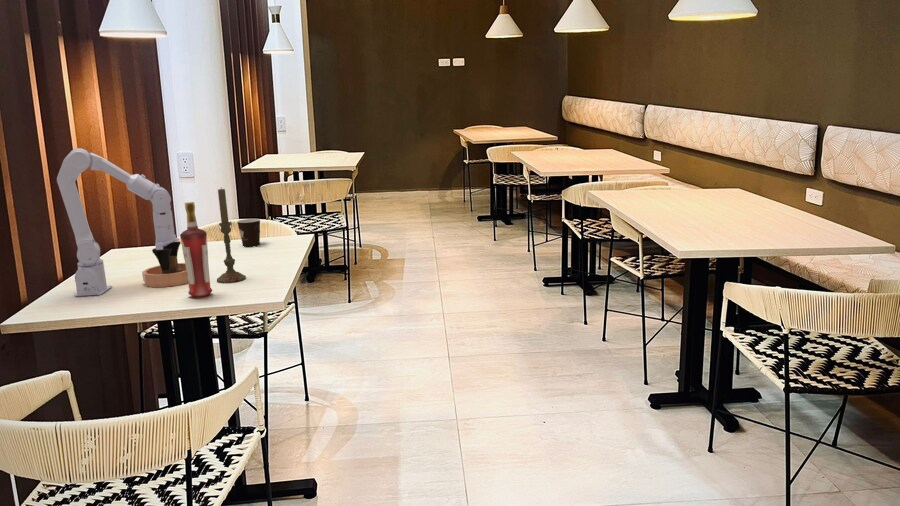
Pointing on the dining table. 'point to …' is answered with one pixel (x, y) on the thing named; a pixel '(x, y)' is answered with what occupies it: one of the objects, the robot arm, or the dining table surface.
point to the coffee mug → (249, 232)
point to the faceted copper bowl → (165, 277)
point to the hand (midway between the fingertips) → (169, 267)
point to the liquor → (195, 255)
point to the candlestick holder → (227, 243)
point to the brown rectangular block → (172, 265)
